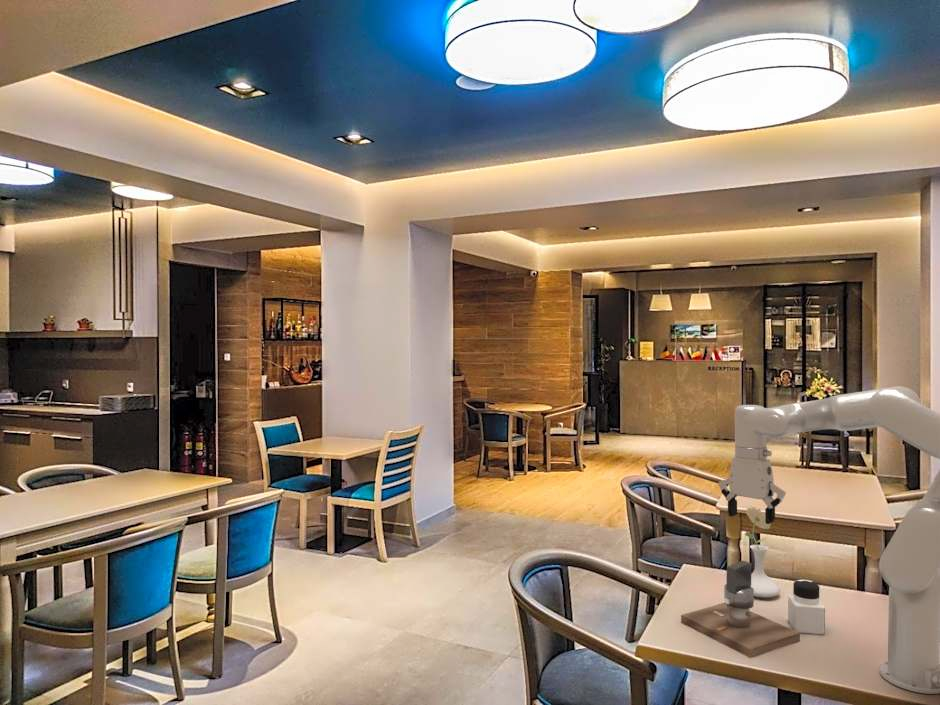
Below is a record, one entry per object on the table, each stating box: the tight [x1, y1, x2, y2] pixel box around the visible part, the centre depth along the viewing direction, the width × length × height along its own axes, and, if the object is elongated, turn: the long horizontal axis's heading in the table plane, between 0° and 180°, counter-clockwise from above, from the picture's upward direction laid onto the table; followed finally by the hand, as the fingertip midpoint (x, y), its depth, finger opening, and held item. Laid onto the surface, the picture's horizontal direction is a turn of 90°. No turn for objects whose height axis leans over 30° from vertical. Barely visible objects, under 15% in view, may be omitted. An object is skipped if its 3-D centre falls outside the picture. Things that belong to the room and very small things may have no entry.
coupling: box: [723, 560, 755, 610], centre depth 171 cm, size 10×7×10 cm
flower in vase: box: [744, 506, 781, 598], centre depth 197 cm, size 13×11×25 cm
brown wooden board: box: [680, 602, 801, 659], centre depth 172 cm, size 22×18×7 cm
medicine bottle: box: [787, 579, 826, 635], centre depth 174 cm, size 7×7×12 cm
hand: (750, 519), depth 172 cm, fingers open, 9 cm apart
